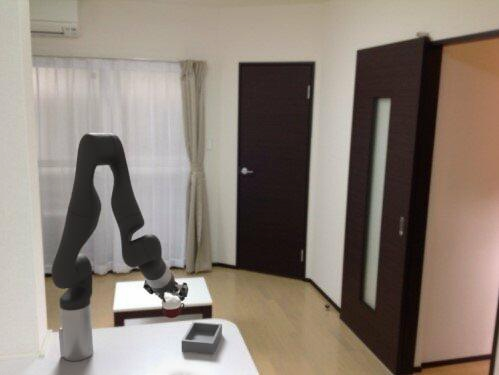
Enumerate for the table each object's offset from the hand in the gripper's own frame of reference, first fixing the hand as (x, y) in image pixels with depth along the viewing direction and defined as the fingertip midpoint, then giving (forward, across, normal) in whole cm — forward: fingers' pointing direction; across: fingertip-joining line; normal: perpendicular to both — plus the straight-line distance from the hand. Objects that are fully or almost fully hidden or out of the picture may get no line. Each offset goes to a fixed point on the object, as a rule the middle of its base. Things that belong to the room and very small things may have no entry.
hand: (172, 297), depth 154 cm
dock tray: (+17, -8, +9) cm, 21 cm away
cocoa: (+3, 0, +5) cm, 6 cm away
